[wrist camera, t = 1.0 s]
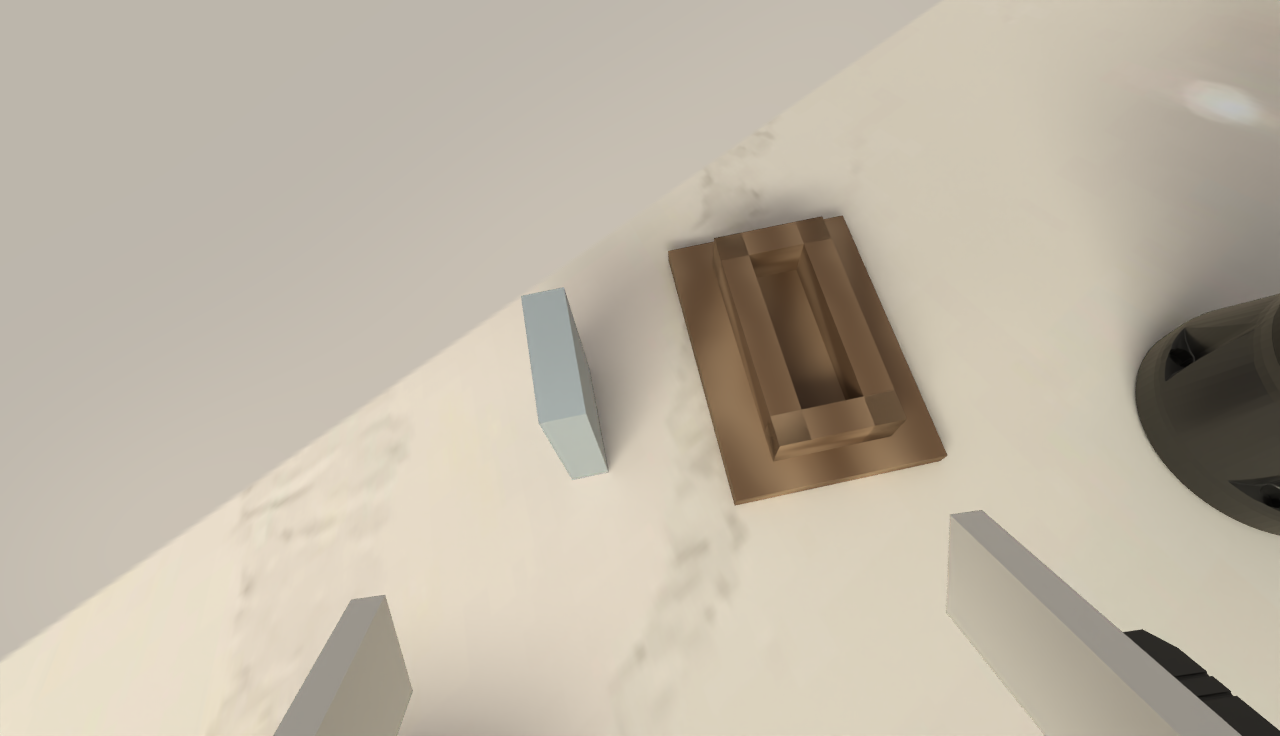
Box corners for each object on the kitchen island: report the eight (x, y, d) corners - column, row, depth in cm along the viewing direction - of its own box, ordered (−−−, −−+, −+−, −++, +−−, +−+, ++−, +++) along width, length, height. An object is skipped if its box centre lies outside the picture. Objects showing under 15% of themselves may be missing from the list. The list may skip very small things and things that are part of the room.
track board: (839, 225, 50) (852, 187, 46) (940, 460, 41) (967, 439, 37) (668, 260, 49) (667, 224, 45) (734, 505, 41) (740, 488, 37)
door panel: (589, 368, 46) (563, 287, 36) (608, 472, 42) (586, 413, 32) (556, 375, 46) (521, 296, 36) (572, 480, 42) (538, 423, 32)
